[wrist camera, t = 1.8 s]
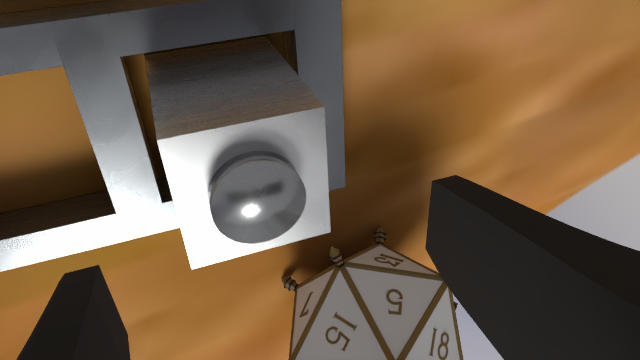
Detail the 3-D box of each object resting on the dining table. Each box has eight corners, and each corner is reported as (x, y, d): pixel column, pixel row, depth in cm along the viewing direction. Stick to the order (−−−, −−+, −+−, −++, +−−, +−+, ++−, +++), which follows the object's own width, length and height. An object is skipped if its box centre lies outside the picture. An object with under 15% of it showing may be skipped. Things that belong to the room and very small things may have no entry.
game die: (349, 212, 27) (529, 301, 23) (279, 352, 27) (451, 467, 23) (283, 174, 19) (544, 301, 15) (181, 375, 19) (422, 561, 15)
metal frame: (-81, 262, 17) (-97, 295, 16) (-232, 44, 13) (-271, 65, 11) (331, 166, 20) (345, 186, 19) (322, -28, 16) (340, -18, 15)
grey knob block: (171, 161, 18) (194, 284, 13) (144, 55, 16) (158, 152, 11) (276, 138, 19) (337, 244, 14) (265, 36, 17) (332, 116, 12)
